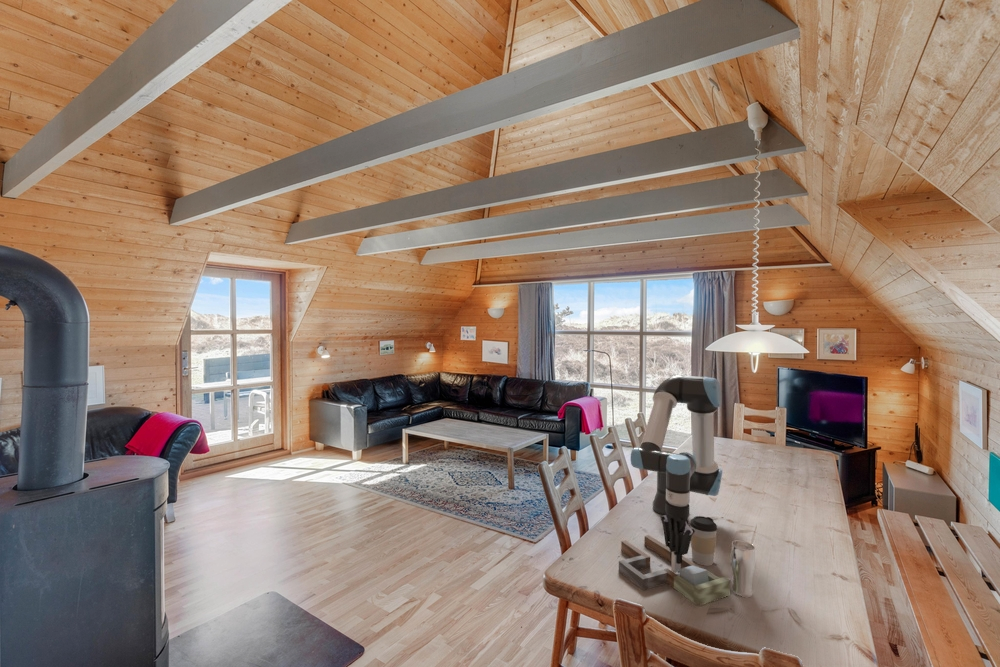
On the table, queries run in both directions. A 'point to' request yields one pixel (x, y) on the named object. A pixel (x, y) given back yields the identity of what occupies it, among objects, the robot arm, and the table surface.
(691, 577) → the block
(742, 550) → the beer glass
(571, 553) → the table surface
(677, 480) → the robot arm
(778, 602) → the table surface
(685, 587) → the corridor
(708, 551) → the coffee cup
